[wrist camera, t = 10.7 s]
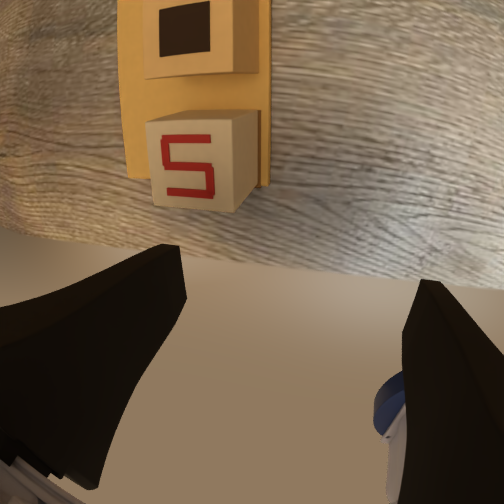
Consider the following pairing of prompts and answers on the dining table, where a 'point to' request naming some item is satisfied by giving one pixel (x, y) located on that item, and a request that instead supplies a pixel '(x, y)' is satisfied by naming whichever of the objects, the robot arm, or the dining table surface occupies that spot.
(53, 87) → the dining table surface
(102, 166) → the dining table surface
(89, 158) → the dining table surface
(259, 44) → the yellow wooden block holder
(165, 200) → the letter s
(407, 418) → the robot arm
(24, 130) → the dining table surface
